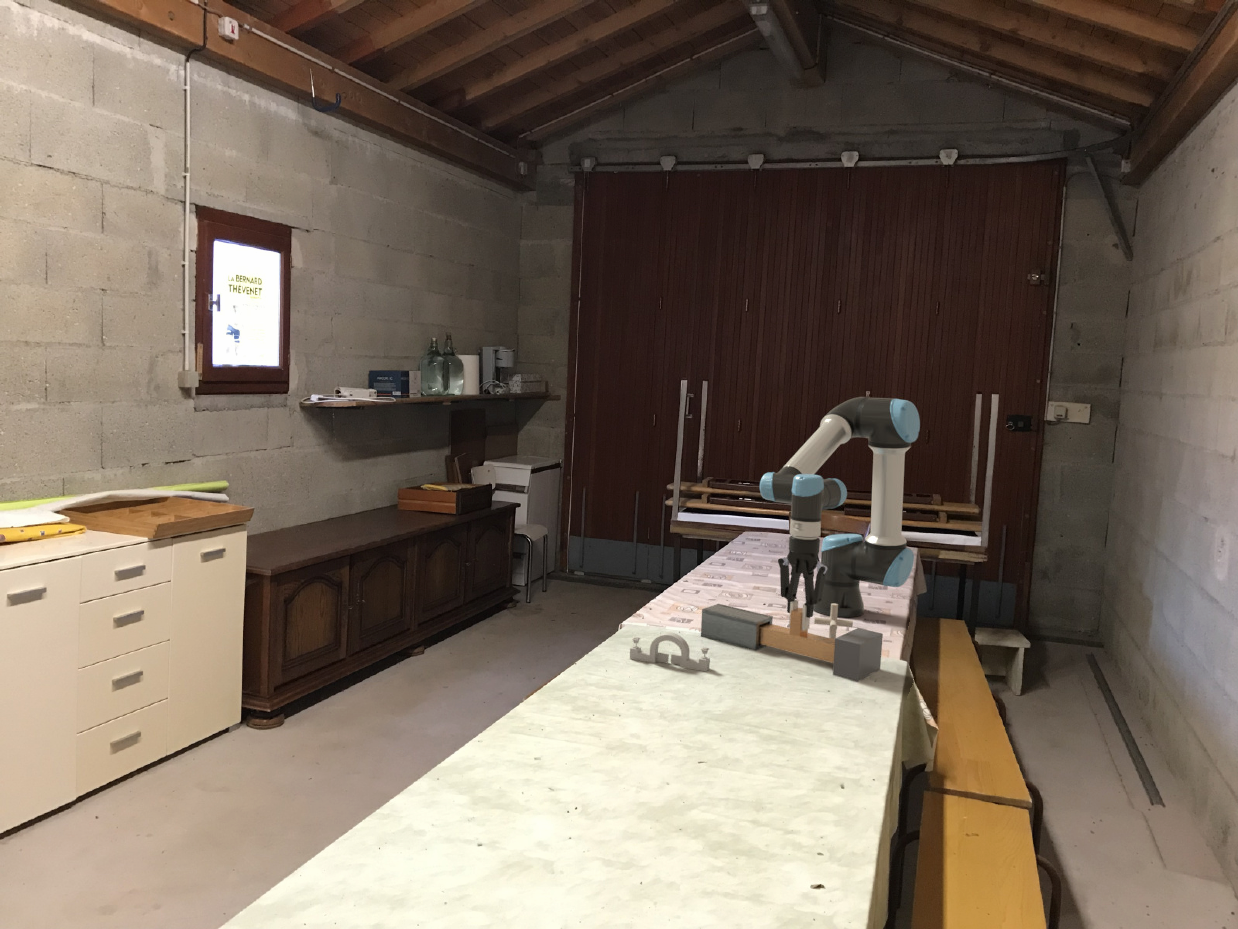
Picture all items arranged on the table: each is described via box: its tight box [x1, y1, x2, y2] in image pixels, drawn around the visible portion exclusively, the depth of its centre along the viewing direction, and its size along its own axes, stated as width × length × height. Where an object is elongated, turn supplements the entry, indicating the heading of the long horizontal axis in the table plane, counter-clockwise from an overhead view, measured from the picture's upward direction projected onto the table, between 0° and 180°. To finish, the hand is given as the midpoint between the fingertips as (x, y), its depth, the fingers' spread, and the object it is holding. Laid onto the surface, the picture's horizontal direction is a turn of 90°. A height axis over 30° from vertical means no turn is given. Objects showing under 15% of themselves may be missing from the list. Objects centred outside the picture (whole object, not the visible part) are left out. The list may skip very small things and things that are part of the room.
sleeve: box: [700, 603, 773, 652], centre depth 253 cm, size 8×17×8 cm, turn 51°
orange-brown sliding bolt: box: [758, 607, 835, 663], centre depth 243 cm, size 4×30×10 cm, turn 51°
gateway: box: [629, 632, 711, 672], centre depth 232 cm, size 20×2×8 cm, turn 69°
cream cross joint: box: [813, 603, 854, 639], centre depth 256 cm, size 10×10×10 cm
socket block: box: [832, 627, 884, 682], centre depth 231 cm, size 12×6×9 cm, turn 141°
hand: (799, 627), depth 241 cm, fingers closed on orange-brown sliding bolt, 3 cm apart
